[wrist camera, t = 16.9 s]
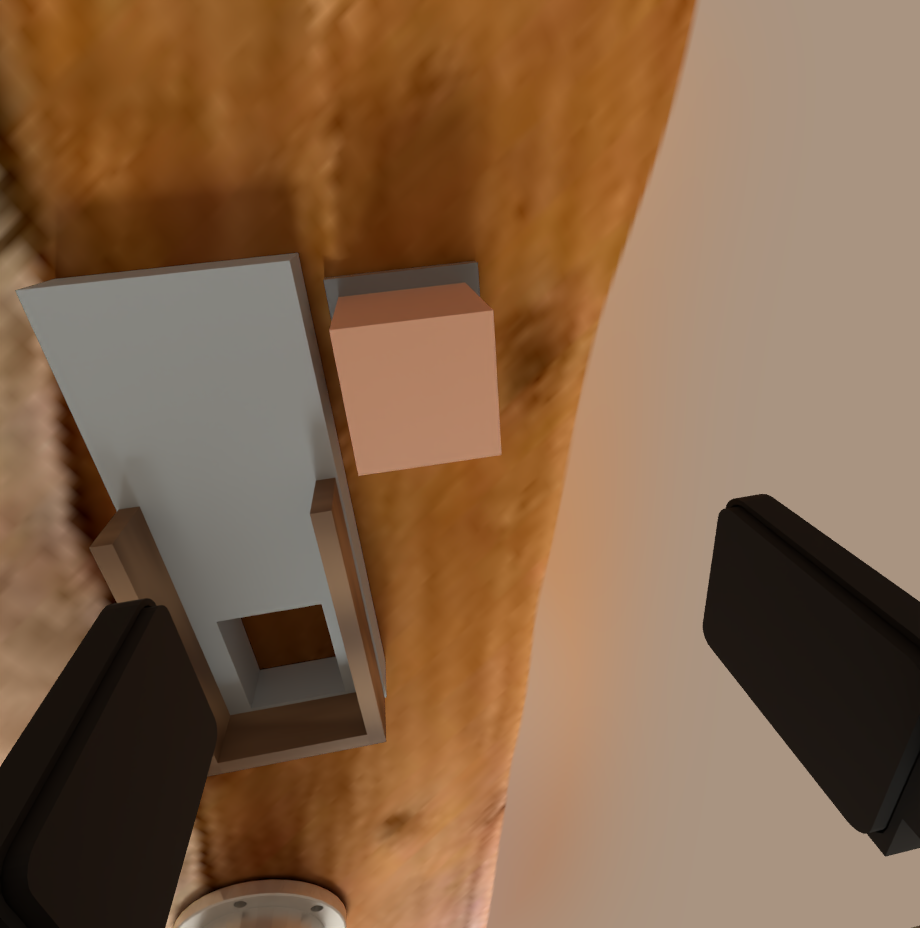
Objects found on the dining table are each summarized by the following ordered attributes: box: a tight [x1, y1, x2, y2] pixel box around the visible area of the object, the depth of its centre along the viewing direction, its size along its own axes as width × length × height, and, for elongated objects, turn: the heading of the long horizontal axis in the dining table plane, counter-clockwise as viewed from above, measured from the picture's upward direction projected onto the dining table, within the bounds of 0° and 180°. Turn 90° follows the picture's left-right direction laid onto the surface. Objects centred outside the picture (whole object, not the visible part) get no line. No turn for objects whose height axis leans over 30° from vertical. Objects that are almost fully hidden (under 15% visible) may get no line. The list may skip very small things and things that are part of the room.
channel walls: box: [89, 478, 386, 777], centre depth 24 cm, size 14×9×3 cm, turn 5°
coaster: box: [324, 261, 480, 321], centre depth 22 cm, size 6×6×1 cm
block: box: [329, 282, 501, 476], centre depth 20 cm, size 5×5×6 cm
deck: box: [15, 253, 387, 715], centre depth 24 cm, size 22×9×2 cm, turn 5°
